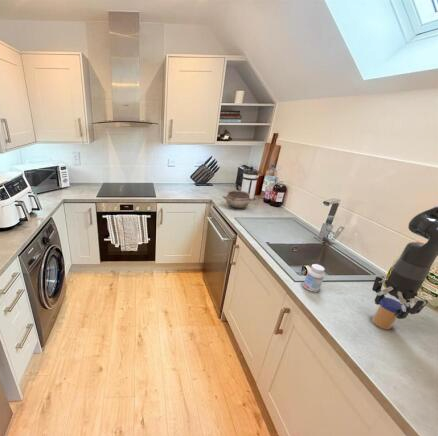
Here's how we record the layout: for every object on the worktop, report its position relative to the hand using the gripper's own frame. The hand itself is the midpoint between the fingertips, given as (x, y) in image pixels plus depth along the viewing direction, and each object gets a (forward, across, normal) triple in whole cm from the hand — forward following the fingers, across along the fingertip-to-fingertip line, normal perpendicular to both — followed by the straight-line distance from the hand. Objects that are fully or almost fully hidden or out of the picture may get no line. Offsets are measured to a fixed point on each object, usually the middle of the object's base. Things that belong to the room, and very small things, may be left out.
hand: (388, 310), depth 85 cm
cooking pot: (+7, +121, -15) cm, 122 cm away
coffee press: (+7, +140, -35) cm, 144 cm away
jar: (+6, 0, 0) cm, 6 cm away
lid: (-3, 0, 0) cm, 3 cm away
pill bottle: (+7, +22, +9) cm, 25 cm away
